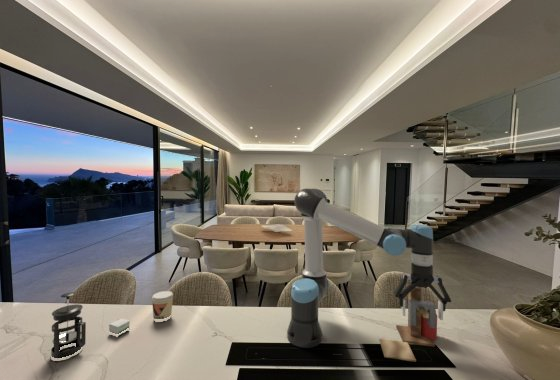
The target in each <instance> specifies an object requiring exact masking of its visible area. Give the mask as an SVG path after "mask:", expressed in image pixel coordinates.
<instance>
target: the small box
mask: <svg viewBox="0 0 560 380" xmlns="http://www.w3.org/2000/svg"><path fill="white" fill-rule="evenodd" d="M130 323H131V322H130V320H129V319H125V318H122V317H121V318H119V319H117V320H115V321H113V322H111V323H109V324H108V327H109V328H108V332H109V331H110V332H112V333H115V334H119V333H121V332H122V331H124V330H126V329H127V328H129V329H130Z"/></svg>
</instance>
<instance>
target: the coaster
mask: <svg viewBox="0 0 560 380" xmlns="http://www.w3.org/2000/svg"><path fill="white" fill-rule="evenodd" d="M379 344H380V346H381V350H382V353H383V356H384V358H388V359H394V360H401V361H407V362H415V363H416V362H417V359H416V357H415V355H414V353H413V351H412V349H411V346H410V345H409V343H408V342H403V341H402V340H401V341H399V340H392V339H386V338H385V339H384V338H379Z"/></svg>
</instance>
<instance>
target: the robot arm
mask: <svg viewBox="0 0 560 380" xmlns="http://www.w3.org/2000/svg"><path fill="white" fill-rule="evenodd" d="M294 205H295V208H296V210H297V211H298V212H299V213H300V216H301V218H302V219H303V220H304V265H305V266H304V269H303V270H302V273H301V275H302V278H300V279H297V280H295V281H294V282H293V283H292V284H291V291H290V295H291V296H290V301H291V309H290V310H291V312H290V313H291V314H290V321H289V325H288V328H287V330H286V338H287V341H288V342H289V343H291V344H292V345H293V346H295V347H297V348H303V349H305V348H306V349H310V348H314V347H317V346H318V345H320V344H321V343H322V342H323V331H322V328H321V326H320V322H319V305H320V304H321V302H322V300H323V299H324V297H326V295H327V294H328V291H329V288H330V283H329V279H328V278H327V271H325V269H324V257H323V256H324V255H323V254H324V253H323V249H324V247H323V245H324V244H323V242H324V241H323V221H324V222H326V223H328V224H330V225H333V226H334V227H337V228H339V229H341V230H343V231H346V232H347V233H349V234H352V235H353V236H356V237H358V238H359V239H362V240H364V241H366V242H368V243H370V244H372V245H375V246H376V247H379V248H381V249H383V250H384V251H385V252H386V253H387V254H388V255H391V256H394V257H397V256H400V255H402V254H404V252H405V251H406V249H411V256H410V257H411V258H410V260H411V263H410V264H411V267H410V268H411V270H410V271H411V273H410V274H406V273H402V278H401V280H400V282H399V284H398V285H397V287H396V289H395V291H394V293H393V294H394V296H395V297H396V298H398V306H399V307H401V315H402V316H403V317H406V299H405V298H406V297H407V296H408V294H409V293H410V292H411V291H412V290H413V289H414V288H415V287H416V286H417V287H420V288H421V289H422V288H424V289H428V288H430V290H431V291H432V292H433V293H434V295H436V297H437V298H438V300H437V318H438V319H439V321H443V320H444V312H446V307H447V304H448V303H452V299H451V297H450V296H449V294H448V292H447V289H446V287H445V285H444V284H443V279H442V277H440V276H438V275H437V276H434V275H433V273H434V272H433V271H434V267H433V264H434V231H433V228H432V227H431V226H430V225H424V224H412V225H411V229H402V228H391V227H383V226H381V225H379V224H377V223H374V222H372V221H370V220H368V219H366V218H363V217H361V216H359V215H356V214H354V213H352V212H349V211H347V210H345V209H343V208H340V207H339V206H336V205H333V204H331V203H329V202H328V197H327V195H326V193H325V192H324V191H323V190H321V189H318V188H301V189H300V190H299V191H298V192H297V193H296V194H295V197H294ZM409 280H411V281H410V282H409V285H407V286H406V284H407V282H408V281H409ZM434 282H435V283H436V285H438V288H439V290H440V291H441V293H442V295H443V296H442V295H441V294H440V293H439V292H438V290H437V289H436V288H435V286H433V283H434ZM405 286H406V287H405Z"/></svg>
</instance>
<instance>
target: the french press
mask: <svg viewBox="0 0 560 380" xmlns="http://www.w3.org/2000/svg"><path fill="white" fill-rule="evenodd" d="M75 294H76V293H75V292H72V291H70V292H66V293H63V294H61V295H60V298H66V301H67V302H66V305H64V306H62V307H59V308H57V309H54V310H53V311H52V312H51V316H53V320H54V321H56V322H54V323H53V324H52V325H51V332H52V333H53V339H52V344H53V347H52V348H51V349H50V350H51V351H50V354H51V355H50V357H51V356H52V357H54V358H62V357H66V356H69V355H72V354H74V353H75V352H77V351H78V350H80V349H81V347H84V346H85V345H86V334H87V331H86V330H87V326H86V324H87V322H86V321H83V317H82V316H79V315H80V314H82V309H83V305H82V304H78V303H77V304H69V300H70V297H72V296H74V295H75ZM70 321H74V324H73V325H70V326H69V322H70ZM63 323H66V327H63V328H59V327H60V326H59V325H61V324H63ZM61 333H62V334H61ZM71 343H76V347H71V349H70V348H69V349H66V350H63V351H60V352H59V350H60V347H62V346H64V345H68V344H71Z"/></svg>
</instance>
